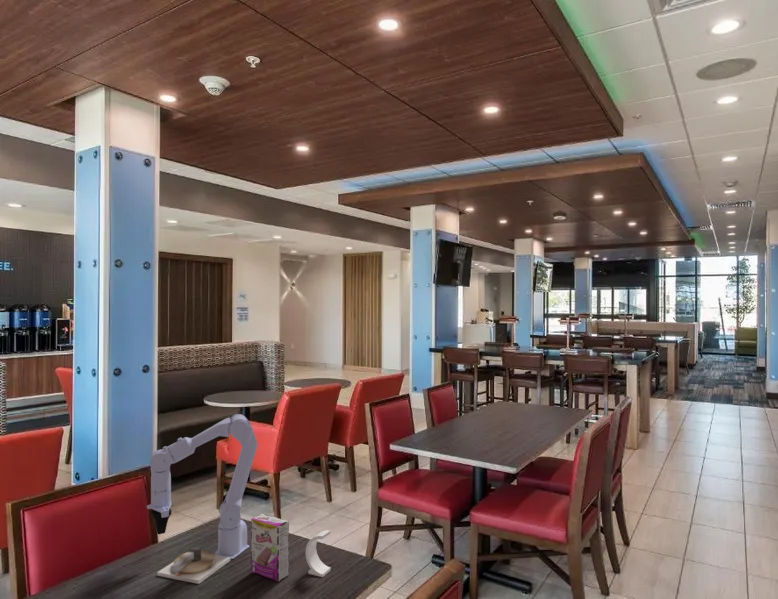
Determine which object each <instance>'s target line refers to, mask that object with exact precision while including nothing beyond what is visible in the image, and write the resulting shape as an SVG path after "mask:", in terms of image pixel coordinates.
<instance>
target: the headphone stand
mask: <svg viewBox="0 0 778 599" xmlns="http://www.w3.org/2000/svg"><path fill="white" fill-rule="evenodd" d="M330 534H331V530H329V529H326V530H322V531H321V532H319V533H318V534H316V535H315V536H313V537H312V538H311V539H309V540H308V541H307V544H306V547H305V559H306V562H307V564H308V565H307V566H308V567H309V570H308V575H312V576H316V577H320V578H323V577H325V576H326V575H327V574H328V573H329V572H331V571H332V570H331V566H328V565H326V564H325V563H324V562H323V561H322V560H321V558H320V557H319V555H318V551H317V543H318V541H319V540H323V539H325V538H326V537H328V536H329V535H330Z"/></svg>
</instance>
